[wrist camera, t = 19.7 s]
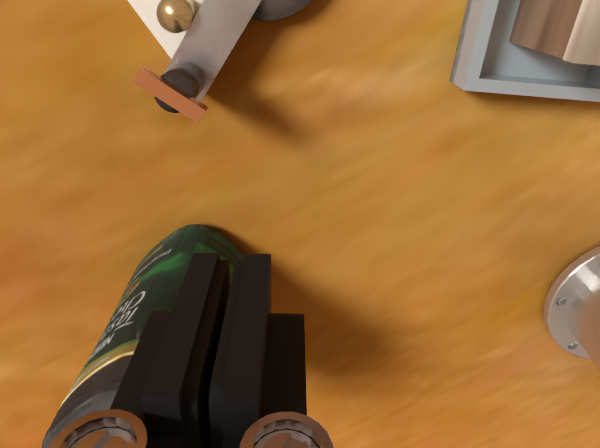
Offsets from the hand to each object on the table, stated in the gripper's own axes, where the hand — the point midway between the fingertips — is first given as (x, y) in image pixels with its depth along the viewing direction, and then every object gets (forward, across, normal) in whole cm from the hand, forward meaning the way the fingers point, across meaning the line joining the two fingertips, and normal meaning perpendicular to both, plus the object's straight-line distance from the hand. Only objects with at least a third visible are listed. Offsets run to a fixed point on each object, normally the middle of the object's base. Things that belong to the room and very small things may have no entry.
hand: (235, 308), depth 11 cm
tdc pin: (+25, +6, -4) cm, 26 cm away
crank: (+24, +3, -4) cm, 24 cm away
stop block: (+24, -17, -5) cm, 30 cm away
